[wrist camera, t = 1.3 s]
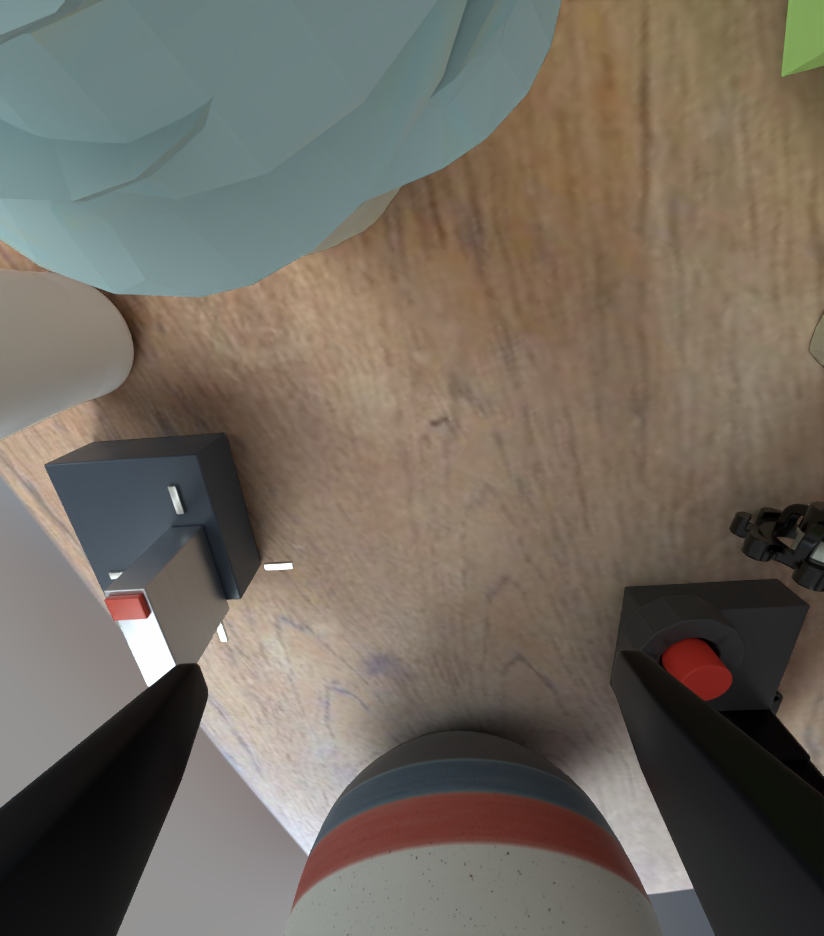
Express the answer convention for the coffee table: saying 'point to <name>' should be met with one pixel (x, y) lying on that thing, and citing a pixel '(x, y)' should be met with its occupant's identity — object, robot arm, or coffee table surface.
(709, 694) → the button
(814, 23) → the teapot
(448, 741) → the planter
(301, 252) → the ice cream cone
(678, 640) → the button box
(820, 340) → the valve
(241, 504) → the lever base
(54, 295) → the drinking glass
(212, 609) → the tap handle
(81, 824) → the robot arm
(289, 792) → the coffee table surface
